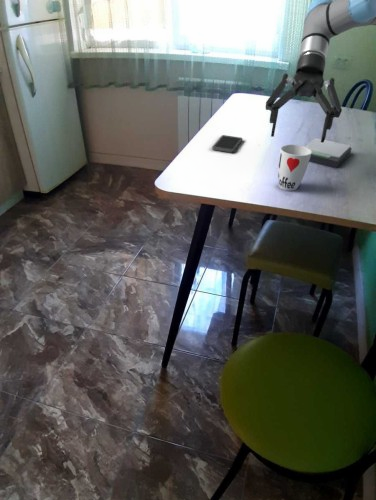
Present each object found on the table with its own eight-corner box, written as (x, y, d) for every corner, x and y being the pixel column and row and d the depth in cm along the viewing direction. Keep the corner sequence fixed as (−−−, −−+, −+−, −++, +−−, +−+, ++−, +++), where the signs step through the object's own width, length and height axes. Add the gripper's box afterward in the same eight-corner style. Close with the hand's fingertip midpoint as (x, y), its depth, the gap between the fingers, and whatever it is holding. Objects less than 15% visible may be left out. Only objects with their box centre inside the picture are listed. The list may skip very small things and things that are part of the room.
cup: (267, 185, 115) (274, 148, 108) (285, 178, 119) (293, 142, 112) (291, 195, 111) (299, 157, 104) (308, 188, 115) (317, 151, 108)
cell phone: (242, 139, 142) (243, 137, 141) (233, 153, 132) (233, 150, 131) (222, 136, 143) (222, 134, 143) (211, 149, 133) (211, 147, 133)
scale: (349, 154, 136) (352, 146, 134) (335, 168, 126) (338, 159, 125) (312, 145, 141) (314, 137, 139) (296, 158, 131) (298, 149, 129)
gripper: (354, 75, 114) (341, 149, 114) (265, 66, 117) (251, 138, 117) (362, 55, 107) (348, 134, 106) (266, 47, 110) (252, 124, 110)
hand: (297, 137), depth 112 cm, fingers open, 13 cm apart
